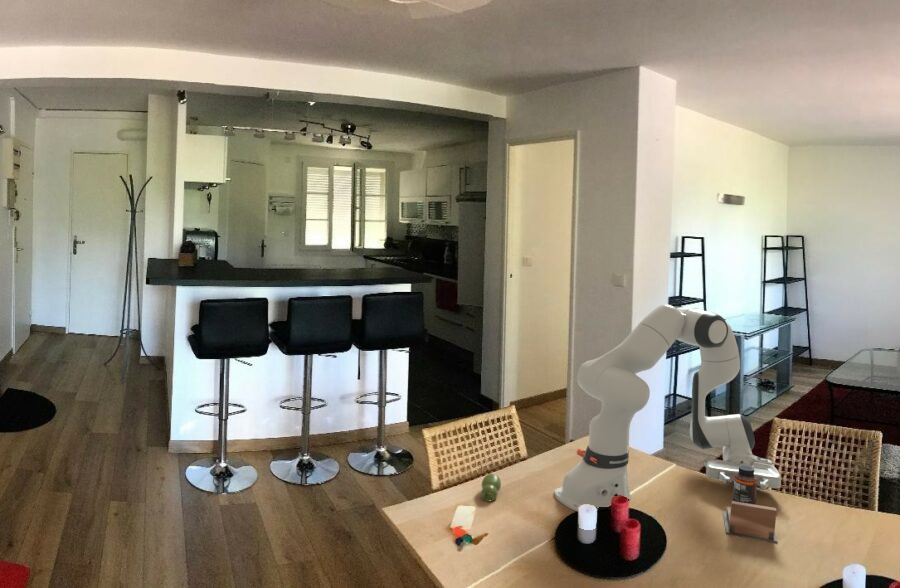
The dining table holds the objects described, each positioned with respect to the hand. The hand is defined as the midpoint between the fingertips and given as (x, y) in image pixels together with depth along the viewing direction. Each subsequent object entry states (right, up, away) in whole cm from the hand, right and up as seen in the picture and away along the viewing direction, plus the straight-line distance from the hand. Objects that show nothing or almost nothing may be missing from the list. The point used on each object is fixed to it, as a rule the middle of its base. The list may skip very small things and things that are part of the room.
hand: (744, 484), depth 177 cm
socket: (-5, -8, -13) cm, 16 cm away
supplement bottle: (0, -6, 0) cm, 6 cm away
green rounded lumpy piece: (-73, -5, +4) cm, 73 cm away
